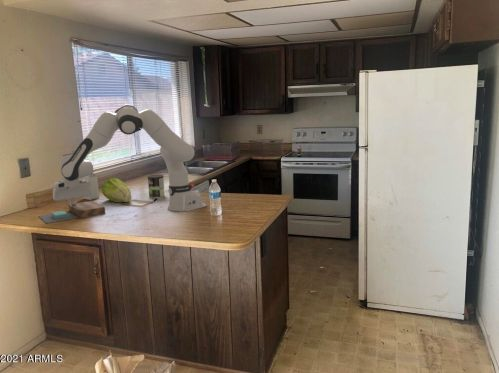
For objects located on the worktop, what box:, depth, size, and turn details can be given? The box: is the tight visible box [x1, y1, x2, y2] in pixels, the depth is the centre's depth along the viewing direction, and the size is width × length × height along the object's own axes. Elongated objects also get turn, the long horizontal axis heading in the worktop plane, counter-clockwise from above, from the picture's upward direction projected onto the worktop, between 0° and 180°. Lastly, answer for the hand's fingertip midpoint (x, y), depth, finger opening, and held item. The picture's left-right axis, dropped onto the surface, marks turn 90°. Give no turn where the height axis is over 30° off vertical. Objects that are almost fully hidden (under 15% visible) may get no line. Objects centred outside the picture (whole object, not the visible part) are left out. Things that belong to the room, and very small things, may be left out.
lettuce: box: [101, 177, 132, 203], centre depth 273 cm, size 15×24×16 cm
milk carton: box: [81, 171, 100, 201], centre depth 283 cm, size 7×7×19 cm
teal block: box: [51, 210, 67, 219], centre depth 238 cm, size 6×9×2 cm, turn 37°
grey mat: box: [38, 210, 78, 224], centre depth 237 cm, size 16×20×1 cm
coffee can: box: [147, 174, 165, 199], centre depth 283 cm, size 10×10×14 cm
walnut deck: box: [68, 200, 106, 219], centre depth 246 cm, size 14×22×4 cm, turn 37°
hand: (73, 206), depth 242 cm, fingers closed
